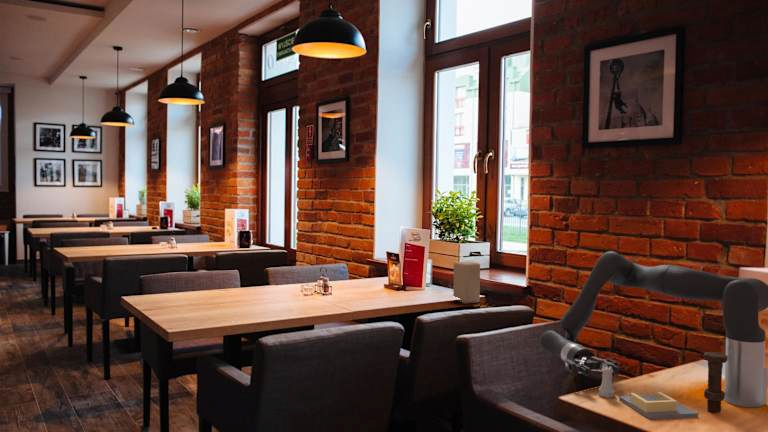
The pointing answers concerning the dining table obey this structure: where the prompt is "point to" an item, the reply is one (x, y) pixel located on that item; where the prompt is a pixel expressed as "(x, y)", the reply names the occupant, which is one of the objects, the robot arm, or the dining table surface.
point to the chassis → (657, 406)
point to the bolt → (714, 380)
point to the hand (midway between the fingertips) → (603, 372)
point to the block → (467, 281)
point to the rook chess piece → (606, 383)
